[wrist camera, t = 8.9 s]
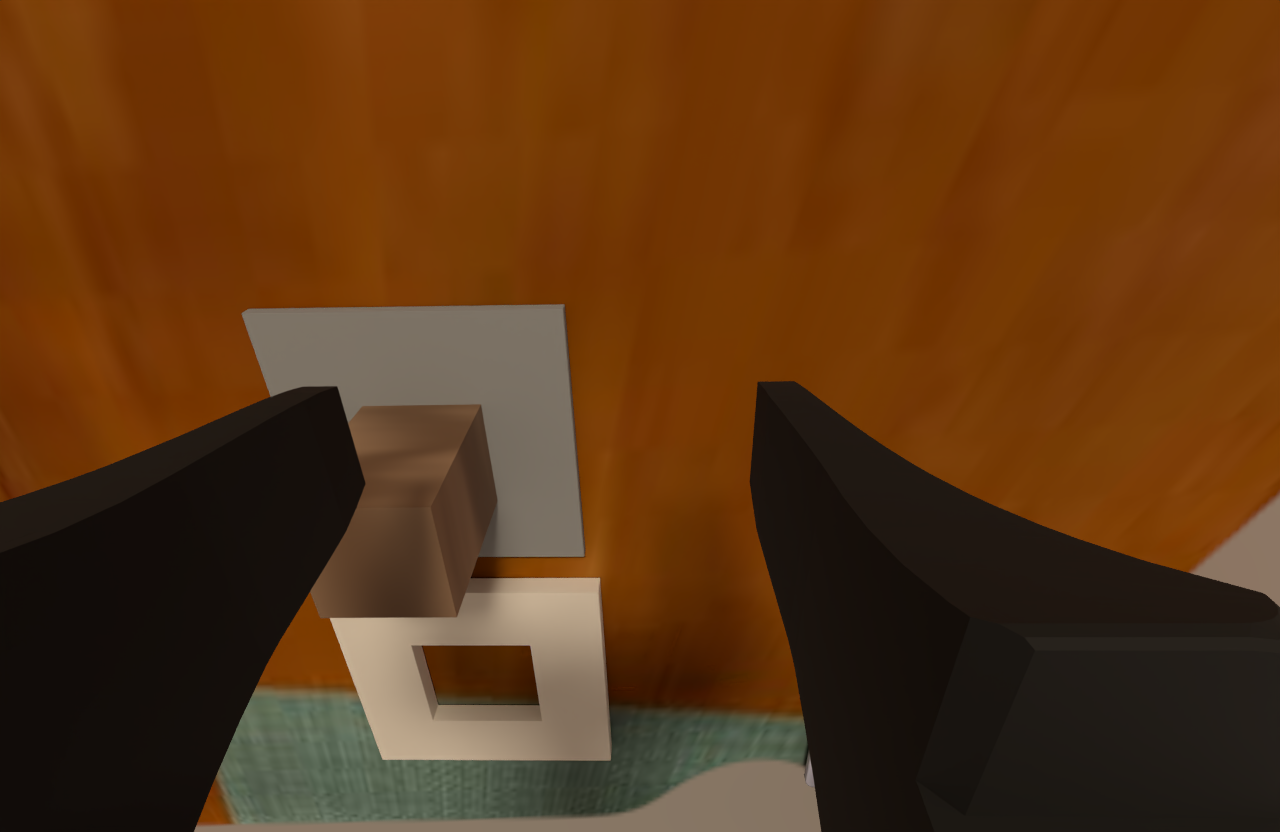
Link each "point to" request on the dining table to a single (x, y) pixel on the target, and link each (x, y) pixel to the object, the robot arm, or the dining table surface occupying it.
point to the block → (412, 514)
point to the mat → (454, 394)
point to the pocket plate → (553, 730)
